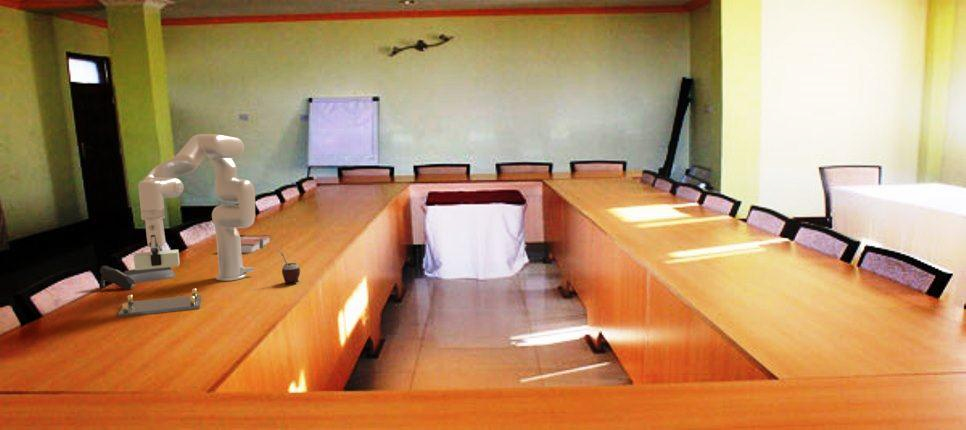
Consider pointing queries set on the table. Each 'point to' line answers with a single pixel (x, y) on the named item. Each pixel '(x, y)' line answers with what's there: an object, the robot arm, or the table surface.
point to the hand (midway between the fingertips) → (157, 262)
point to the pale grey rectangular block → (167, 260)
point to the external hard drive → (150, 274)
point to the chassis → (160, 305)
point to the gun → (115, 278)
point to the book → (253, 243)
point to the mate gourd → (290, 272)
